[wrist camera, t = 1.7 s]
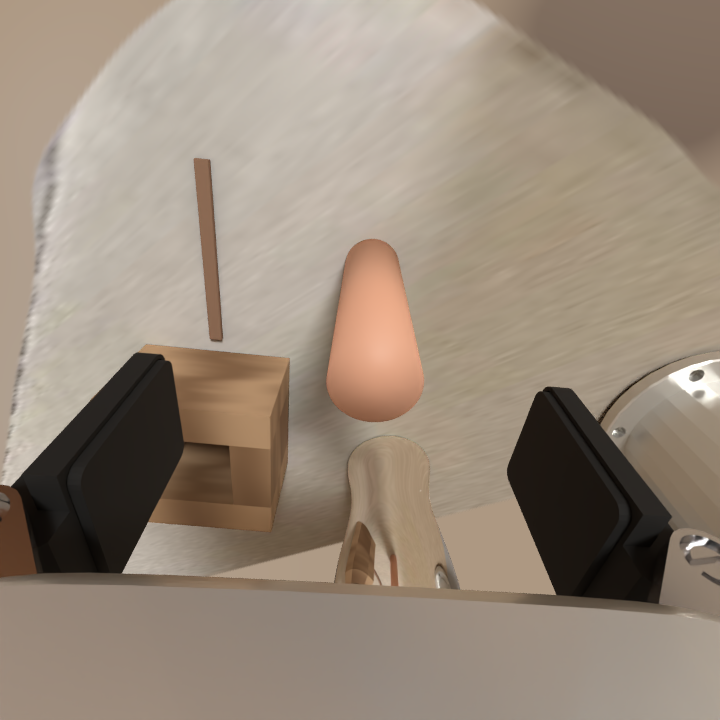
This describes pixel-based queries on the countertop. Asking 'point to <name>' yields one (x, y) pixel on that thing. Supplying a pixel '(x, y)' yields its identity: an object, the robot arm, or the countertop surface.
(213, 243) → the brown thin square rod
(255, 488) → the wooden block with hole
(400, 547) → the beer glass
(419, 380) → the dowel
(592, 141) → the countertop surface
